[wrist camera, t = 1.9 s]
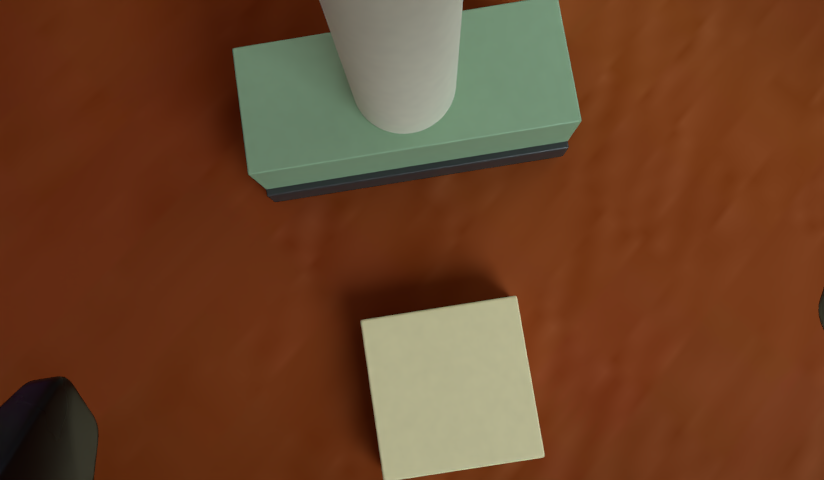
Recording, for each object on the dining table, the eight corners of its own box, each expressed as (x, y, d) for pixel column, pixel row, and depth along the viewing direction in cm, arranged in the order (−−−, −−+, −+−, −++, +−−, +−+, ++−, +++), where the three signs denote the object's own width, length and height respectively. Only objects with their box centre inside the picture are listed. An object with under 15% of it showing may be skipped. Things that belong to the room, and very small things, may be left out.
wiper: (563, 156, 21) (753, -105, 9) (274, 202, 22) (33, 13, 9) (540, 34, 22) (687, -387, 9) (258, 79, 22) (8, -271, 9)
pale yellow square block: (538, 450, 20) (545, 457, 19) (386, 473, 20) (383, 482, 19) (512, 297, 21) (516, 295, 20) (364, 320, 21) (359, 319, 20)
